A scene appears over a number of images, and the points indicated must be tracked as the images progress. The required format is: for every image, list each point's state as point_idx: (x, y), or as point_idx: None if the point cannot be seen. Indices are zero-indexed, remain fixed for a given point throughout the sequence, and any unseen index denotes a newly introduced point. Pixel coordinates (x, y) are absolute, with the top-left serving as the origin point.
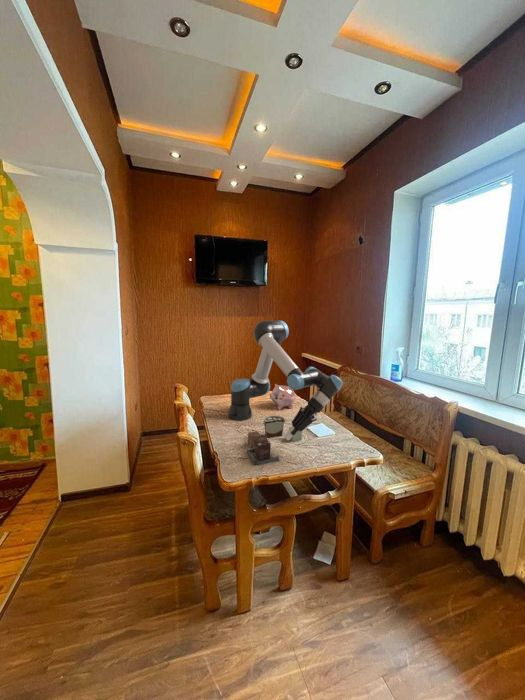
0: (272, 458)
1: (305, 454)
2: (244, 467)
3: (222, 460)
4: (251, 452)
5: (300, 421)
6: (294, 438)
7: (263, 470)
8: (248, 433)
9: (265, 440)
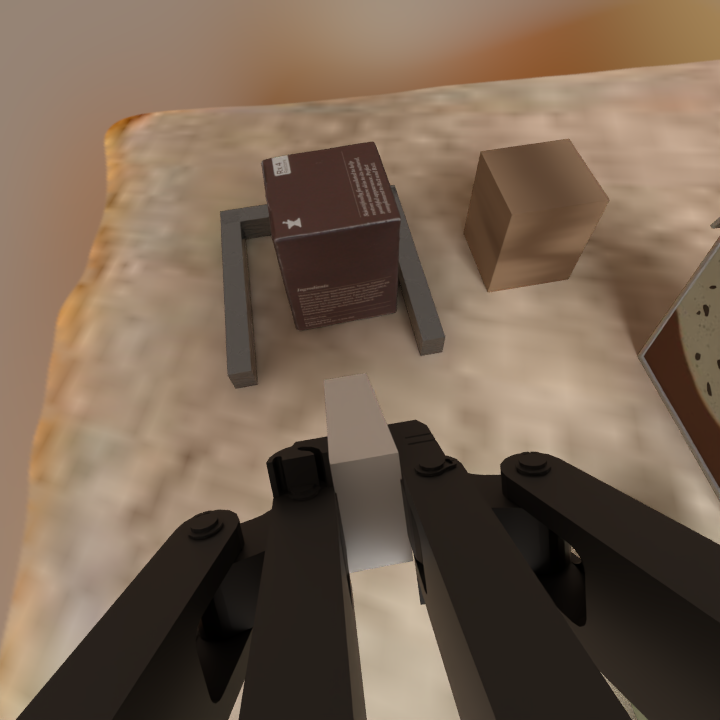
0: (231, 321)
1: None
2: (226, 185)
3: (327, 107)
4: None
5: (302, 630)
6: None
7: (154, 269)
8: (554, 146)
9: (340, 209)
